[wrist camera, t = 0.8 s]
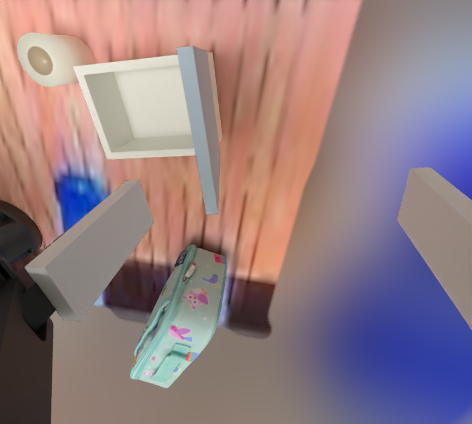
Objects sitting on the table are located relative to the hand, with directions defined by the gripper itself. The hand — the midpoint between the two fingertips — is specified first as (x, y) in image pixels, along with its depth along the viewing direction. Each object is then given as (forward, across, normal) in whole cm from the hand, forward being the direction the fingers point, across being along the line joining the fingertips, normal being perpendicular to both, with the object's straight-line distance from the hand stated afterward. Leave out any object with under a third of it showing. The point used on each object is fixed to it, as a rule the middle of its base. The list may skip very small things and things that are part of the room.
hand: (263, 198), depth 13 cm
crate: (+30, -17, +1) cm, 34 cm away
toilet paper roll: (+29, -29, +8) cm, 42 cm away
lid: (+14, -7, +1) cm, 16 cm away
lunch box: (+30, -20, -37) cm, 51 cm away
